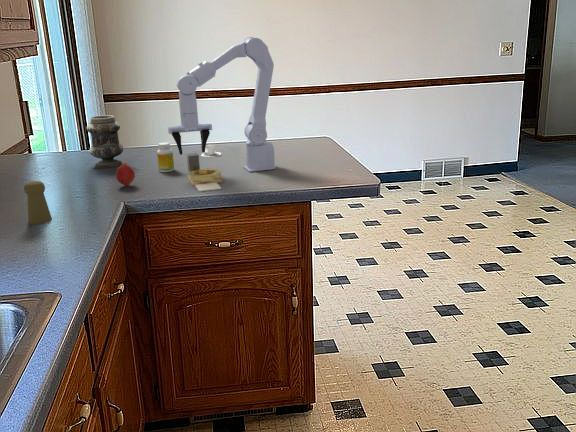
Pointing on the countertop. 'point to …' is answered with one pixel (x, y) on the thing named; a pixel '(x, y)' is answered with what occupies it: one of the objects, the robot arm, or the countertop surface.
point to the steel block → (193, 162)
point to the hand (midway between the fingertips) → (192, 152)
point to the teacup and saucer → (210, 151)
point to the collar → (204, 175)
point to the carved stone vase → (105, 140)
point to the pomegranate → (125, 174)
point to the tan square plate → (205, 182)
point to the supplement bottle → (165, 157)
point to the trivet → (207, 187)
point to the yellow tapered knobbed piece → (37, 203)
